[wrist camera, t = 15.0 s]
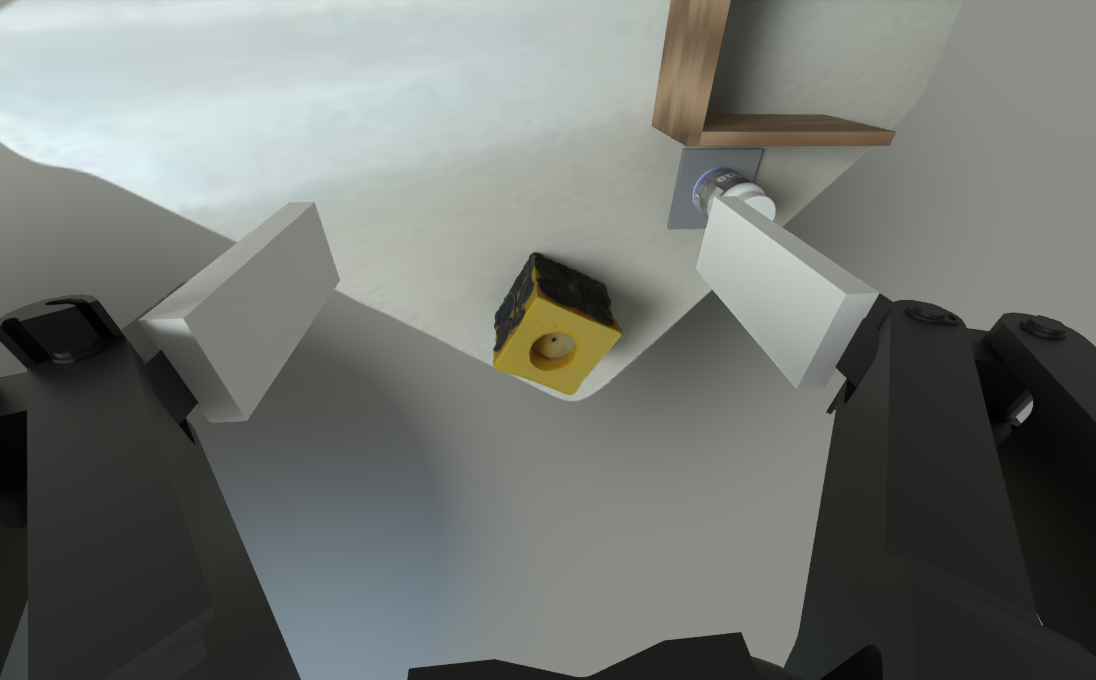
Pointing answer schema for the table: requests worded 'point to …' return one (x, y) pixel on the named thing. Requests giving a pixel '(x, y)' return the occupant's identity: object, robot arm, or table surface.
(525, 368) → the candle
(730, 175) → the pill bottle
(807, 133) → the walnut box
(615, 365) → the table surface
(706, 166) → the slate coaster
